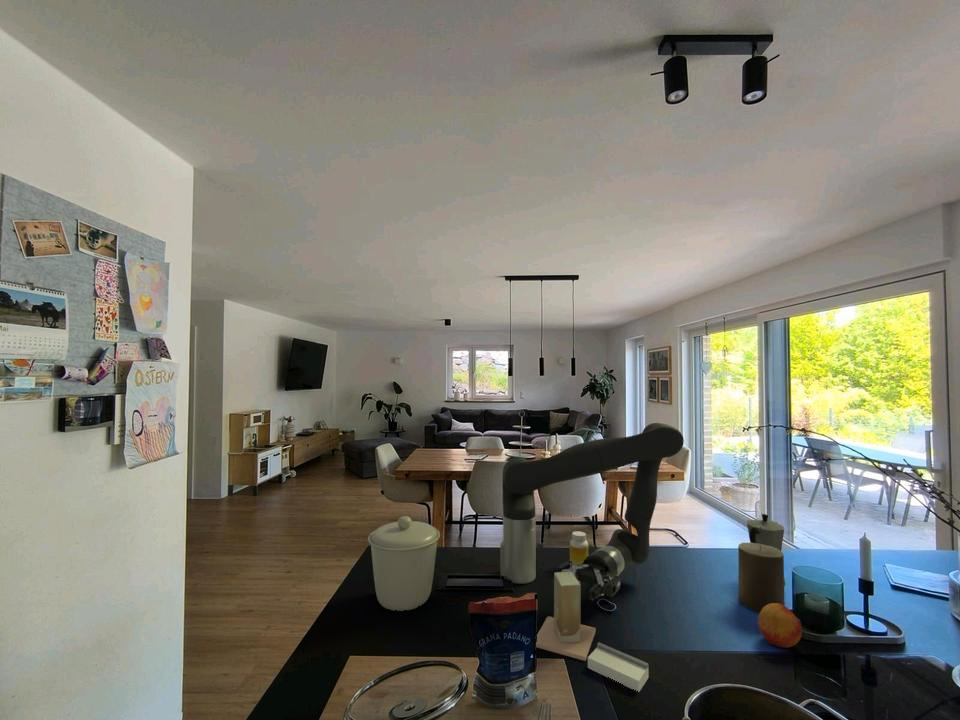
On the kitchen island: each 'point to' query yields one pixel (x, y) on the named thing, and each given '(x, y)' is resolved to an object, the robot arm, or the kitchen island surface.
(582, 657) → the coaster
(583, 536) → the supplement bottle
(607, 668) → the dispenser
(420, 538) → the canister
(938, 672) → the kitchen island surface
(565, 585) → the skincare box
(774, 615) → the fruit
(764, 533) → the coffeepot
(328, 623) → the kitchen island surface
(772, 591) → the pillar candle
